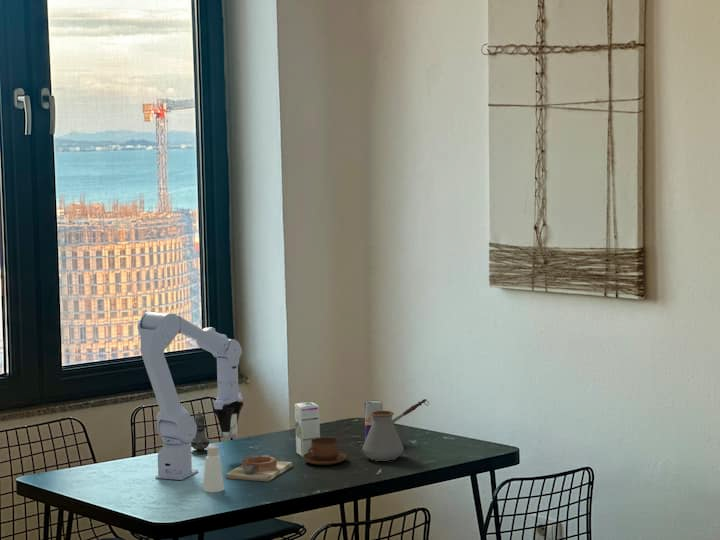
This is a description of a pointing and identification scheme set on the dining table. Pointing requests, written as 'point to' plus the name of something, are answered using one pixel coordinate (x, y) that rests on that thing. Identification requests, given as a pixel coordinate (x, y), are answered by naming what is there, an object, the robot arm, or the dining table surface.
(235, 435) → the cylinder
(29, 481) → the dining table surface
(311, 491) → the dining table surface
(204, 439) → the grey flanged cylinder
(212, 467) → the white squeeze bottle
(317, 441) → the cup and saucer
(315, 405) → the syrup box
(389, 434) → the coffee pot
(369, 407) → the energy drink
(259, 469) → the coupling stand
